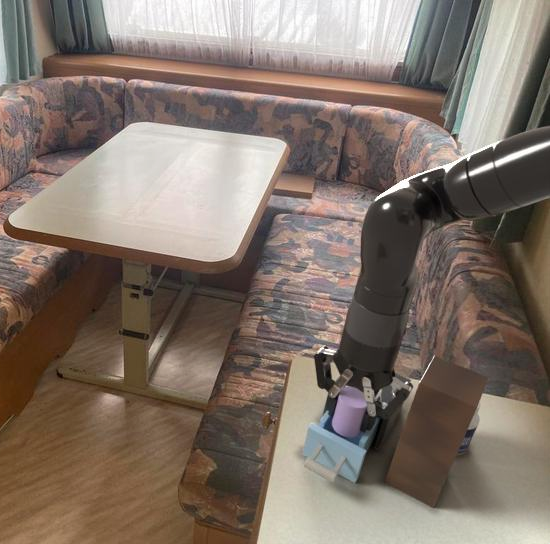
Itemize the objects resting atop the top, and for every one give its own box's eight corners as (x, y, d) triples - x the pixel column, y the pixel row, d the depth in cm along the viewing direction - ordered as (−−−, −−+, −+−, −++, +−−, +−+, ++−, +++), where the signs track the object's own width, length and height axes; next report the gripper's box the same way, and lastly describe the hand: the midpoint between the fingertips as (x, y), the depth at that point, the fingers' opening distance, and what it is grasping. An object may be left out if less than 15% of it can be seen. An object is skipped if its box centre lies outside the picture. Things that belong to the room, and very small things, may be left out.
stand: (444, 478, 85) (489, 377, 75) (431, 511, 80) (476, 407, 70) (398, 455, 89) (434, 355, 78) (382, 486, 84) (419, 382, 73)
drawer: (342, 506, 79) (350, 478, 76) (287, 475, 83) (293, 447, 80) (377, 442, 89) (386, 416, 86) (327, 417, 93) (334, 391, 90)
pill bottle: (431, 454, 89) (449, 409, 84) (427, 429, 93) (444, 384, 88) (468, 462, 88) (489, 417, 83) (462, 436, 93) (482, 391, 87)
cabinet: (377, 453, 89) (389, 418, 85) (320, 424, 93) (328, 389, 89) (399, 413, 96) (411, 379, 92) (345, 388, 101) (354, 355, 97)
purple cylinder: (366, 424, 86) (375, 394, 83) (355, 442, 83) (364, 412, 80) (338, 411, 88) (346, 381, 85) (326, 428, 85) (334, 398, 82)
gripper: (312, 320, 76) (293, 413, 85) (420, 365, 70) (387, 460, 79) (334, 295, 82) (314, 385, 91) (437, 335, 75) (404, 428, 84)
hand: (348, 420), depth 85 cm, fingers closed on purple cylinder, 4 cm apart
